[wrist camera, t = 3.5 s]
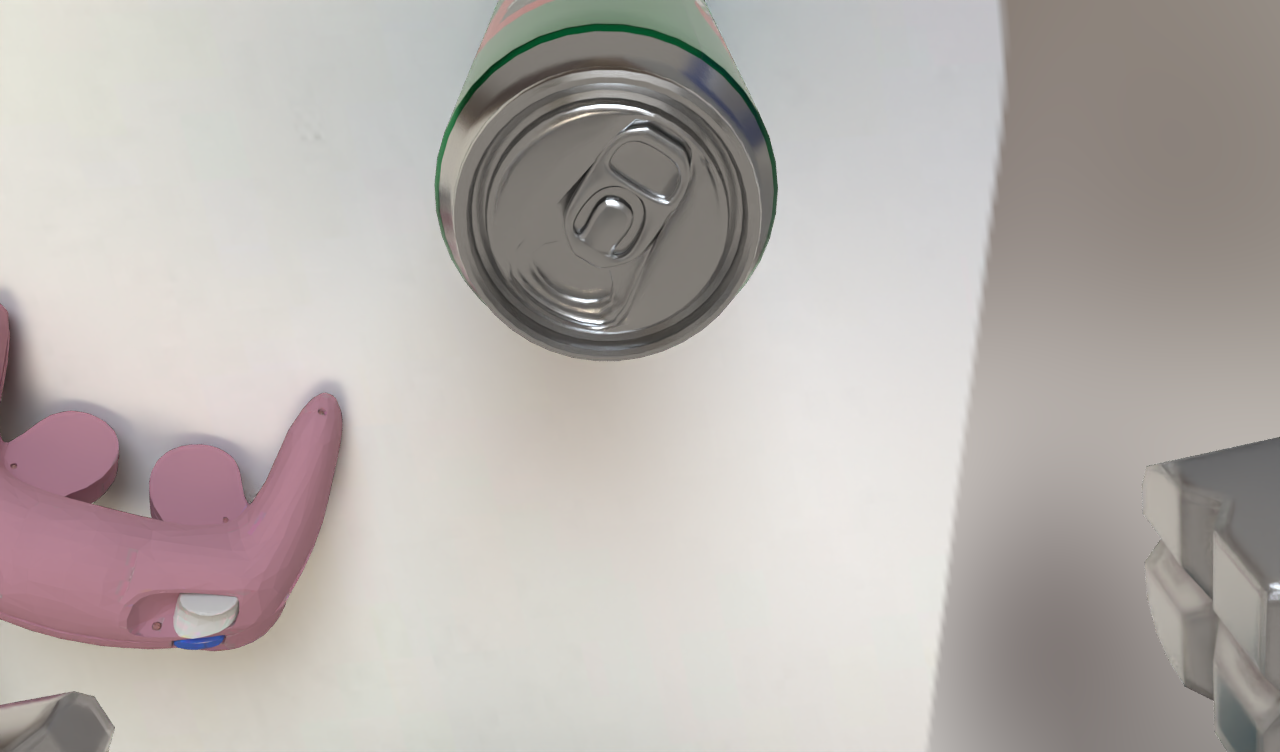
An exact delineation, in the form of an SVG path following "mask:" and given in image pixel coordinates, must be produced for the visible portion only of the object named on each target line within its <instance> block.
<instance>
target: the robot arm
mask: <svg viewBox="0 0 1280 752" xmlns="http://www.w3.org/2000/svg"><path fill="white" fill-rule="evenodd" d="M1142 507H1143V508H1142V511H1143V515H1144V516H1145V517H1146V519H1147V520H1148V522H1149V523H1150V524H1151V526H1152V527H1153V528H1154V530H1155V531H1156V532H1157V534H1158V535H1159V537H1160V538H1161V540H1160V541H1159V542H1158V544H1157V545H1156V547H1155V548H1154V549H1153V551H1152V552H1151V554H1150V555H1149V557H1148V558H1147V559H1146V561H1145V576H1146V589H1147V600H1148V604H1149V607H1150V611H1151V615H1152V619H1153V622H1154V626H1155V630H1156V634H1157V636H1158V638H1159V641H1160V643H1161V645H1162V647H1163V649H1164V652H1165V654H1166V656H1167V658H1168V660H1169V662H1170V664H1171V665H1172V667H1173V668H1174V670H1175V672H1176V673H1177V675H1178V676H1179V678H1180V680H1181V681H1182V683H1183V684H1184V686H1185V687H1187V688H1189V689H1191V690H1193V691H1195V692H1197V693H1199V694H1201V695H1203V696H1205V697H1207V698H1209V699H1211V700H1213V701H1214V732H1215V733H1216V735H1217V737H1218V738H1219V739H1220V741H1221V743H1222V744H1223V746H1224V747H1225V749H1226V750H1227V752H1280V437H1277V438H1273V439H1268V440H1264V441H1259V442H1255V443H1250V444H1245V445H1241V446H1236V447H1232V448H1227V449H1222V450H1218V451H1213V452H1209V453H1204V454H1200V455H1195V456H1190V457H1186V458H1181V459H1177V460H1172V461H1168V462H1163V463H1159V464H1154V465H1149V466H1147V467H1146V470H1145V474H1144V478H1143V483H1142ZM114 729H115V727H114V725H113V724H112V722H111V721H110V719H109V718H108V716H107V715H106V713H105V712H104V710H103V709H102V707H101V706H100V704H99V703H98V701H97V700H96V698H95V697H94V696H90V695H86V694H82V693H79V692H75V691H73V692H68V693H62V694H57V695H52V696H46V697H41V698H36V699H31V700H25V701H20V702H15V703H9V704H4V705H0V752H109V748H110V744H111V740H112V737H113V733H114Z"/></svg>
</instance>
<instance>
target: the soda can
mask: <svg viewBox="0 0 1280 752" xmlns="http://www.w3.org/2000/svg"><path fill="white" fill-rule="evenodd" d="M777 192H778V184H777V172H776V161H775V157H774V153H773V149H772V146H771V142H770V138H769V135H768V133H767V130H766V128H765V126H764V123H763V121H762V119H761V117H760V114H759V112H758V110H757V108H756V106H755V104H754V102H753V100H752V98H751V96H750V93H749V91H748V89H747V87H746V85H745V83H744V81H743V79H742V77H741V75H740V73H739V71H738V69H737V67H736V65H735V63H734V61H733V58H732V56H731V54H730V52H729V50H728V48H727V46H726V44H725V42H724V40H723V38H722V36H721V34H720V32H719V30H718V28H717V26H716V23H715V21H714V19H713V17H712V15H711V13H710V11H709V9H708V7H707V5H706V3H705V1H704V0H499V1H498V3H497V5H496V8H495V10H494V13H493V15H492V18H491V20H490V22H489V25H488V27H487V30H486V32H485V35H484V37H483V40H482V42H481V44H480V47H479V49H478V52H477V54H476V57H475V59H474V61H473V64H472V66H471V69H470V71H469V74H468V76H467V79H466V81H465V83H464V86H463V88H462V91H461V93H460V96H459V98H458V101H457V103H456V105H455V108H454V110H453V113H452V115H451V118H450V120H449V123H448V125H447V127H446V130H445V132H444V136H443V139H442V143H441V147H440V150H439V154H438V157H437V166H436V176H435V200H436V212H437V216H438V221H439V225H440V230H441V234H442V237H443V240H444V242H445V245H446V247H447V249H448V252H449V254H450V257H451V259H452V261H453V263H454V264H455V266H456V268H457V269H458V271H459V273H460V274H461V276H462V278H463V279H464V281H465V282H466V283H467V285H468V286H469V287H470V288H471V289H472V291H473V292H474V293H475V294H476V295H477V297H478V298H479V299H480V300H481V301H482V302H483V303H484V304H485V305H486V306H488V307H489V309H490V310H491V311H492V312H493V313H494V314H495V315H496V316H497V317H498V318H499V319H500V320H501V321H502V322H504V323H505V324H506V325H507V326H508V327H509V328H510V329H512V330H513V331H515V332H516V333H518V334H519V335H521V336H522V337H524V338H525V339H527V340H529V341H530V342H532V343H534V344H537V345H539V346H541V347H543V348H545V349H547V350H550V351H552V352H556V353H559V354H563V355H566V356H569V357H573V358H580V359H586V360H593V361H621V360H628V359H635V358H641V357H645V356H648V355H652V354H655V353H659V352H662V351H665V350H667V349H669V348H671V347H673V346H676V345H678V344H680V343H682V342H684V341H686V340H687V339H689V338H690V337H692V336H694V335H695V334H697V333H698V332H700V331H701V330H703V329H704V328H705V327H706V326H707V325H709V324H710V323H711V322H712V321H713V320H714V319H715V318H717V317H718V316H719V315H720V314H721V312H722V311H723V310H724V309H725V308H726V307H727V305H728V304H729V303H730V302H731V301H732V300H733V298H734V297H735V296H736V295H737V294H738V292H739V291H740V290H741V289H742V288H743V287H744V285H745V284H746V283H747V282H748V280H749V278H750V277H751V275H752V273H753V272H754V270H755V269H756V267H757V265H758V264H759V262H760V260H761V258H762V255H763V253H764V251H765V248H766V246H767V244H768V241H769V239H770V235H771V231H772V227H773V223H774V219H775V215H776V205H777Z"/></svg>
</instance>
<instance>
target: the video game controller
mask: <svg viewBox="0 0 1280 752" xmlns="http://www.w3.org/2000/svg"><path fill="white" fill-rule="evenodd" d="M9 342H10V331H9V324H8V312H7V310H6V309H5V308H4V307H3V306H2V305H1V303H0V402H1V396H2V391H3V385H4V380H5V375H6V369H7V364H8V353H9ZM341 435H342V414H341V410H340V407H339V405H338V402H337V400H336V398H335V397H334V396H333V395H330V394H328V393H322V394H319V395H318V396H316V397H314V398H313V399H312V400H310V402H309V403H308V404H307V405H306V406H305V407H304V408H303V410H302V411H301V412H300V414H299V415H298V417H297V418H296V420H295V421H294V423H293V424H292V426H291V427H290V429H289V430H288V433H287V435H286V437H285V439H284V441H283V444H282V446H281V448H280V450H279V453H278V455H277V457H276V459H275V462H274V464H273V466H272V468H271V470H270V473H269V475H268V477H267V479H266V482H265V483H264V485H263V486H262V488H261V489H260V491H259V492H258V494H257V496H256V497H255V499H254V500H253V502H252V503H251V504H250V505H249V503H248V502H247V501H246V498H245V496H244V493H243V488H242V482H241V476H240V471H239V468H238V466H237V464H236V462H235V460H234V459H233V458H232V457H231V456H230V455H229V454H228V453H226V452H225V451H223V450H221V449H219V448H216V447H213V446H208V445H202V444H196V445H185V446H180V447H177V448H174V449H172V450H170V451H169V452H167V453H165V454H164V455H163V456H162V457H161V458H160V459H159V460H158V461H157V462H156V464H155V466H154V468H153V470H152V472H151V476H150V480H149V495H150V509H151V516H152V518H147V517H143V516H138V515H134V514H130V513H126V512H122V511H118V510H114V509H110V508H106V507H102V506H98V505H94V504H91V503H93V502H94V501H96V500H97V499H99V498H100V497H101V496H102V495H103V494H104V493H105V492H106V491H107V489H108V488H109V487H110V486H111V484H112V483H113V482H114V479H115V477H116V474H117V469H118V459H119V444H118V439H117V436H116V434H115V432H114V431H113V429H112V428H111V427H110V426H109V425H108V424H107V423H106V422H104V421H103V420H101V419H99V418H98V417H96V416H93V415H91V414H89V413H84V412H78V411H65V412H60V413H56V414H52V415H50V416H48V417H47V418H45V419H43V420H42V421H40V422H38V423H37V424H35V425H34V426H33V427H32V428H30V429H29V430H28V431H26V432H25V433H24V434H22V435H20V436H18V437H17V438H15V439H13V440H12V441H10V442H4V441H3V440H2V438H1V435H0V619H1V620H4V621H7V622H9V623H12V624H15V625H18V626H20V627H23V628H26V629H29V630H31V631H35V632H39V633H42V634H46V635H50V636H53V637H57V638H61V639H66V640H72V641H77V642H83V643H88V644H94V645H99V646H110V647H122V648H139V649H163V648H183V649H190V650H198V649H199V650H208V651H222V650H230V649H235V648H239V647H241V646H244V645H247V644H249V643H252V642H254V641H255V640H257V639H258V638H260V637H261V636H263V635H264V634H266V633H267V631H268V630H269V629H270V628H271V627H272V626H273V625H274V624H275V622H276V621H277V619H278V618H279V617H280V615H281V613H282V611H283V609H284V607H285V604H286V601H287V599H288V597H289V595H290V593H291V591H292V590H293V588H294V586H295V584H296V582H297V581H298V579H299V577H300V575H301V573H302V572H303V570H304V567H305V565H306V563H307V561H308V559H309V556H310V554H311V552H312V550H313V547H314V545H315V542H316V539H317V536H318V534H319V531H320V528H321V525H322V523H323V519H324V515H325V511H326V507H327V503H328V499H329V495H330V490H331V485H332V481H333V476H334V471H335V467H336V462H337V457H338V453H339V448H340V442H341Z"/></svg>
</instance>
